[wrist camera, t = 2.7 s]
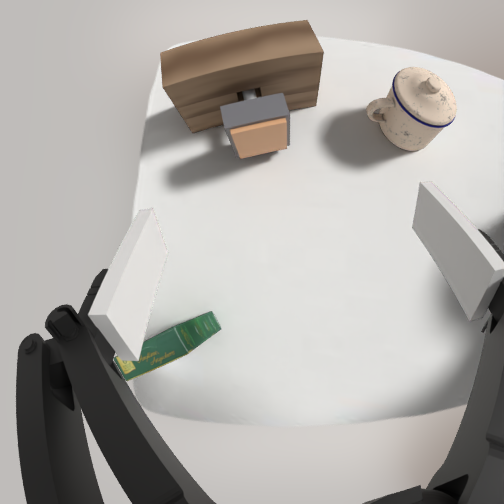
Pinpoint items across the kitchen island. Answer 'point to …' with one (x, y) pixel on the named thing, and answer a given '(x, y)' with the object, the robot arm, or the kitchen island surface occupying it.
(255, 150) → the gray housing block
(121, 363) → the coffee box
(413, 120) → the teacup with lid
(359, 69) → the kitchen island surface
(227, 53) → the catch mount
